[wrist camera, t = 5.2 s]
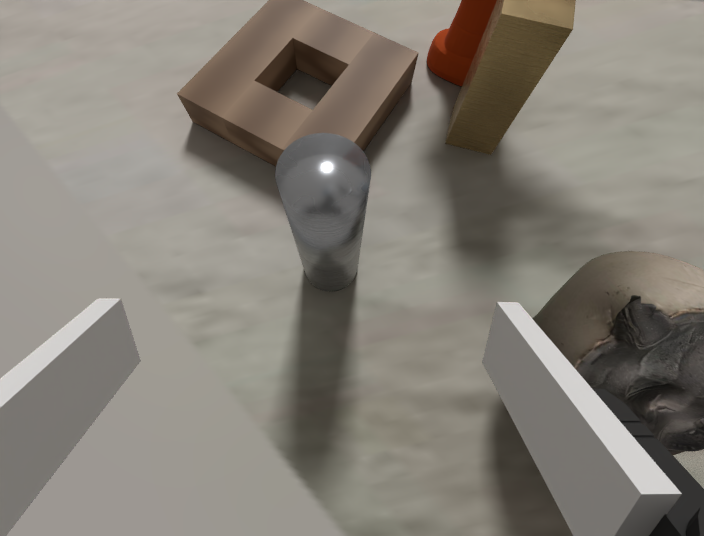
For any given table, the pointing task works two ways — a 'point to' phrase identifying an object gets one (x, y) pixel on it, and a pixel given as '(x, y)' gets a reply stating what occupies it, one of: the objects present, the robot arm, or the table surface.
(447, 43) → the toy drill
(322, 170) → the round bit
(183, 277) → the table surface
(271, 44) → the socket block
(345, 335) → the table surface
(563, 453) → the robot arm
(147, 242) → the table surface
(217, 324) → the table surface
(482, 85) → the light brown rectangular block
